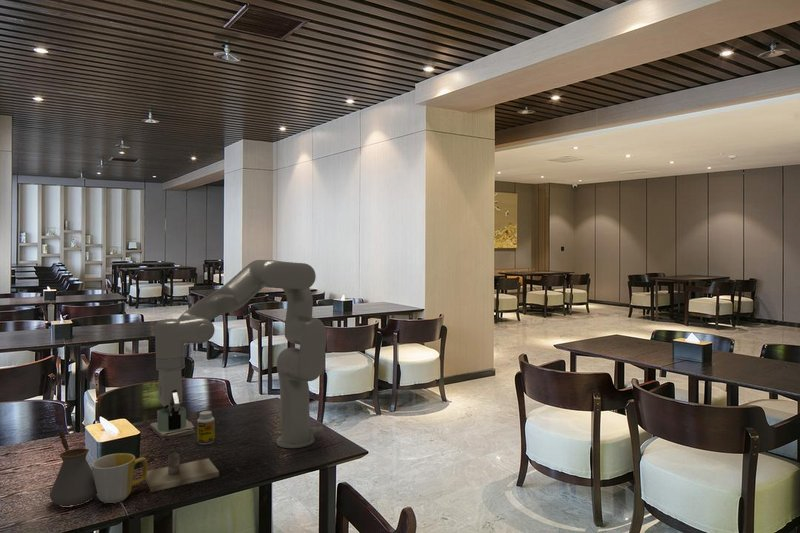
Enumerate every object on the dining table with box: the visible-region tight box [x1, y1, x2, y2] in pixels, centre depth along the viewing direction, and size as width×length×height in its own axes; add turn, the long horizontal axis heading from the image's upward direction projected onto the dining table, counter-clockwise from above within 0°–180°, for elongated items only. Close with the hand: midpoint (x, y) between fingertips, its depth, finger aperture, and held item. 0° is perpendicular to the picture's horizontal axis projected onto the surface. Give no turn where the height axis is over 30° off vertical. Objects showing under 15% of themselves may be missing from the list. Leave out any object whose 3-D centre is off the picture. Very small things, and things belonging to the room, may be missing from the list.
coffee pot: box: [49, 430, 97, 506], centre depth 152 cm, size 21×12×15 cm, turn 42°
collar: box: [156, 406, 187, 432], centre depth 161 cm, size 7×7×5 cm
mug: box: [90, 452, 148, 504], centre depth 150 cm, size 14×10×10 cm
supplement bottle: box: [196, 410, 216, 446], centre depth 191 cm, size 6×6×10 cm
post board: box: [144, 451, 220, 493], centre depth 163 cm, size 18×12×8 cm, turn 122°
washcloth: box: [148, 418, 196, 441], centre depth 204 cm, size 12×18×3 cm, turn 39°
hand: (171, 424), depth 161 cm, fingers closed on collar, 7 cm apart
